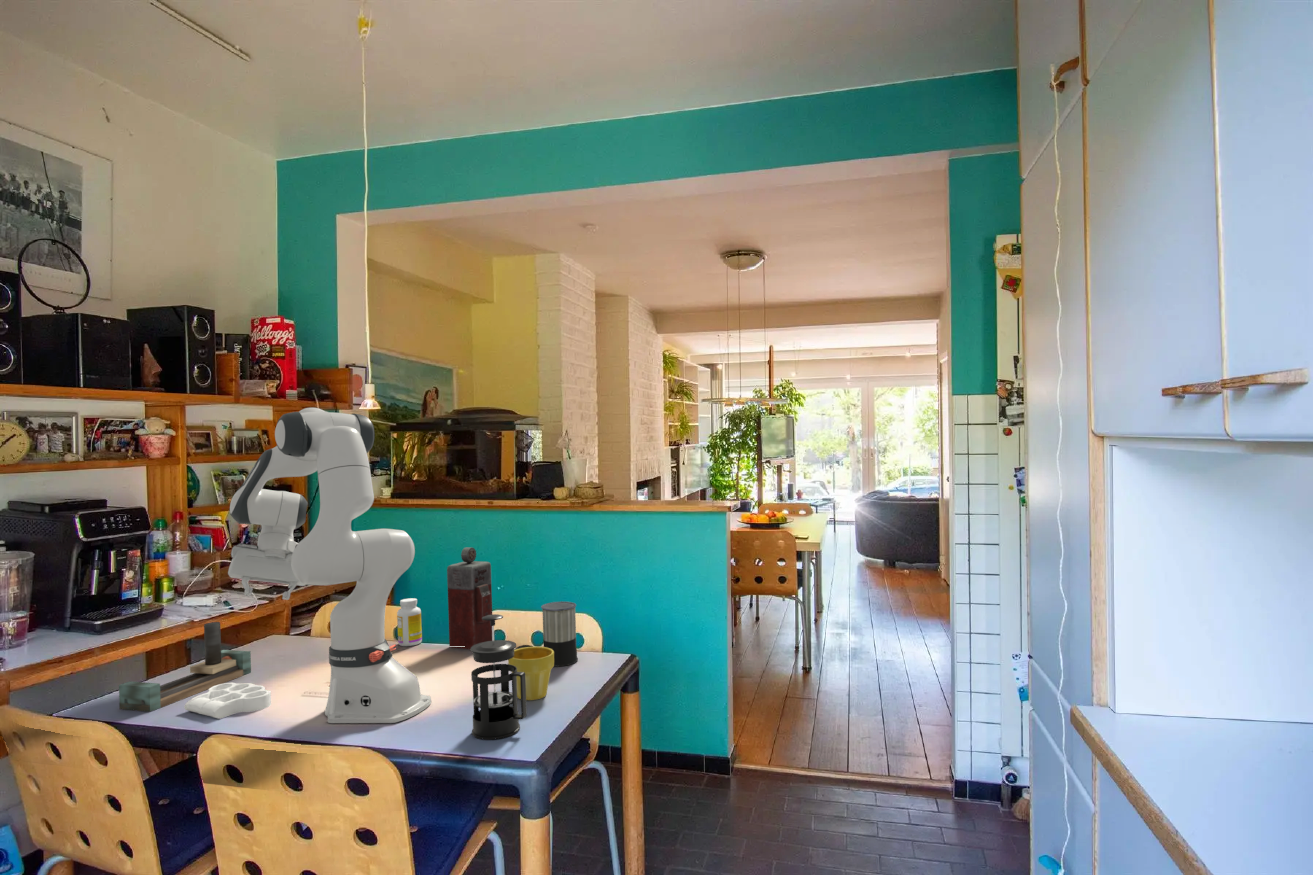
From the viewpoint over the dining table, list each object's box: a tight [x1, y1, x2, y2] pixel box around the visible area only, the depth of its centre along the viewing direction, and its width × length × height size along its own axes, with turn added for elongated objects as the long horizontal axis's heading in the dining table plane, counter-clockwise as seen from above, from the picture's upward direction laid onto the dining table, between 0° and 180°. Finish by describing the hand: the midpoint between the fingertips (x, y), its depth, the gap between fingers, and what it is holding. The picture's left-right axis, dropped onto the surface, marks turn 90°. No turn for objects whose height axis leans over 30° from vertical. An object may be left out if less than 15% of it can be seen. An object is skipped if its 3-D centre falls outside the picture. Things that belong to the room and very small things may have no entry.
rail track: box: [118, 649, 252, 713], centre depth 177 cm, size 9×28×6 cm, turn 165°
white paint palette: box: [183, 682, 272, 720], centre depth 164 cm, size 3×18×15 cm
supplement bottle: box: [396, 597, 423, 647], centre depth 212 cm, size 7×7×13 cm
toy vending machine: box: [446, 546, 493, 651], centre depth 208 cm, size 9×11×28 cm
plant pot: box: [507, 646, 555, 701], centre depth 164 cm, size 10×10×10 cm
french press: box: [470, 613, 528, 741], centre depth 145 cm, size 12×9×23 cm
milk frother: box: [514, 600, 579, 667], centre depth 190 cm, size 14×16×15 cm
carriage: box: [189, 621, 236, 674], centre depth 183 cm, size 7×7×12 cm
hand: (267, 597), depth 194 cm, fingers open, 8 cm apart
